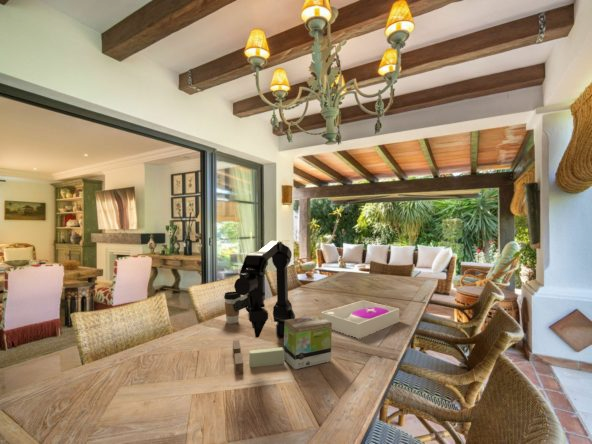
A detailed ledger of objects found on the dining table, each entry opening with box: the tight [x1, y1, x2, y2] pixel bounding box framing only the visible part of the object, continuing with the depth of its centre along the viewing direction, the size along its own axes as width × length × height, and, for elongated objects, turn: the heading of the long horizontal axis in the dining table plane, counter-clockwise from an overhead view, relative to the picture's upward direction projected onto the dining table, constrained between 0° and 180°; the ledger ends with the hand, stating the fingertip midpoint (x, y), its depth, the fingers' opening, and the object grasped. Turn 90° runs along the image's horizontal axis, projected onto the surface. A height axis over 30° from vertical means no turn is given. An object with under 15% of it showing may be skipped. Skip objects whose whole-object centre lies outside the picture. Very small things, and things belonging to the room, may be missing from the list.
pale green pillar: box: [249, 347, 285, 368], centre depth 107 cm, size 12×2×5 cm, turn 104°
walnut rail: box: [232, 339, 244, 375], centre depth 109 cm, size 2×20×4 cm, turn 14°
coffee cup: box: [223, 291, 242, 325], centre depth 152 cm, size 8×8×15 cm
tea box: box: [283, 314, 333, 371], centre depth 109 cm, size 15×10×15 cm, turn 117°
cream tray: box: [320, 299, 400, 340], centre depth 150 cm, size 22×35×7 cm, turn 132°
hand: (255, 332), depth 106 cm, fingers open, 9 cm apart
